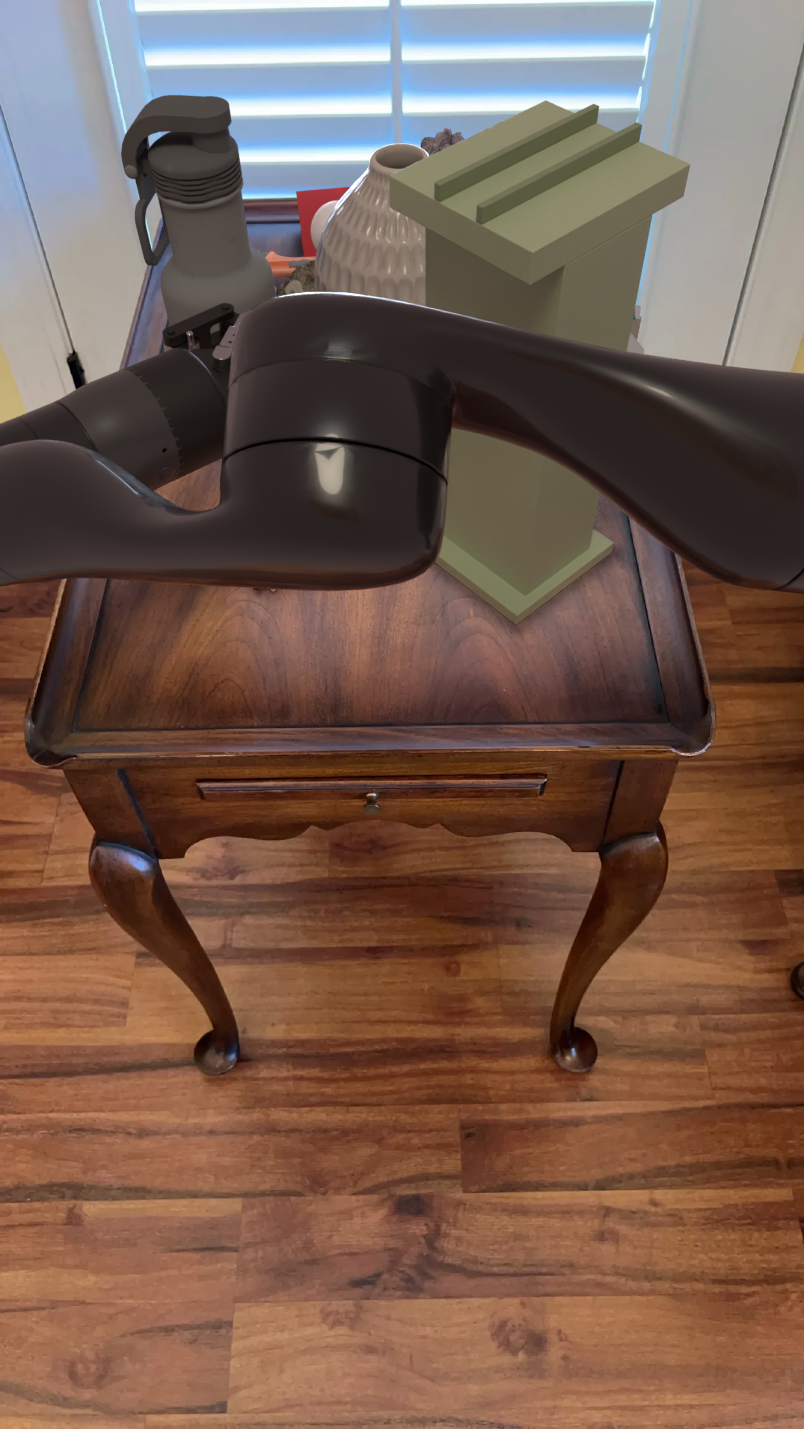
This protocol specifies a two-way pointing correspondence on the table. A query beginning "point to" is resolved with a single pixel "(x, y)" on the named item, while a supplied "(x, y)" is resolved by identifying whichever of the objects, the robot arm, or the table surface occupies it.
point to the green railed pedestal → (533, 316)
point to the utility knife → (284, 263)
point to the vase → (374, 236)
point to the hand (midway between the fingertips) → (337, 343)
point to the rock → (299, 280)
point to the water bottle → (195, 206)
